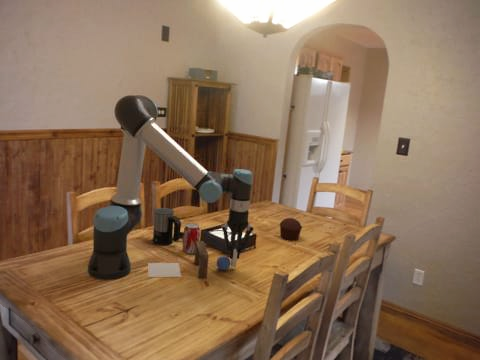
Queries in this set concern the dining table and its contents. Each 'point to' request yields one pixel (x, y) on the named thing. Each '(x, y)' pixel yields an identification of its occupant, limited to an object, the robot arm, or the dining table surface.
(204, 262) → the bridge
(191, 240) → the soda can
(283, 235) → the muffin
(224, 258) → the ball
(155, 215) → the milk frother
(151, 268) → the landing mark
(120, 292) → the dining table surface
